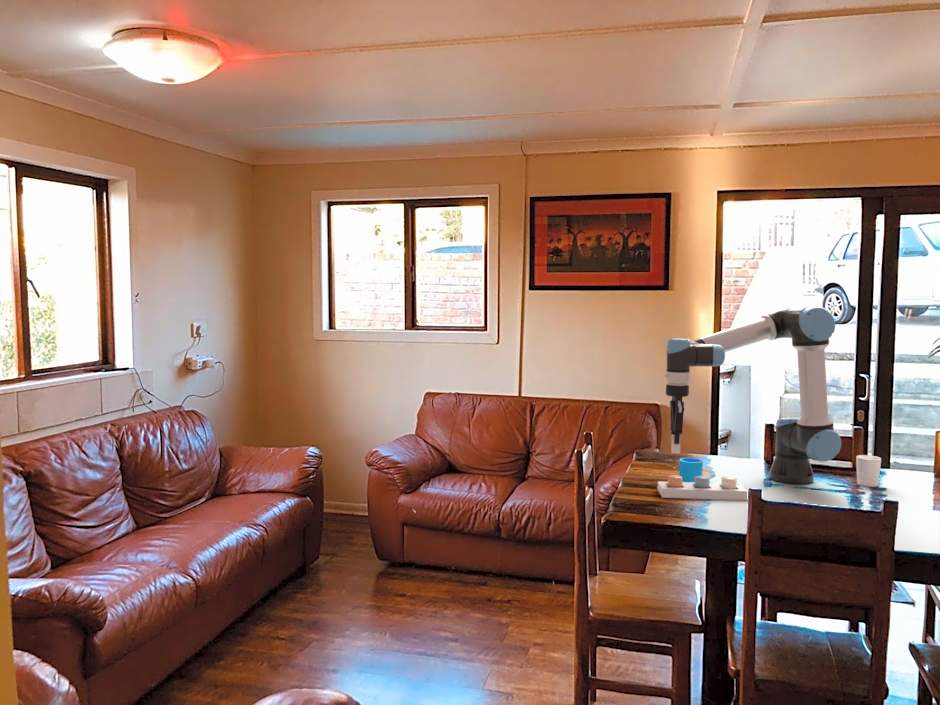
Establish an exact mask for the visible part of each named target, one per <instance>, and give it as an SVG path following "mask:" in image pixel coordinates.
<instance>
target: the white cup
mask: <svg viewBox="0 0 940 705" xmlns="http://www.w3.org/2000/svg"><path fill="white" fill-rule="evenodd" d="M855 461H856V484H857V485H859V486H862V487H872V488H873V487H874V488H876V487H878V486H879V481H880V480H879V479H880V474H881V473H880V472H881V467H882V466H881V464H882V457H880V456H876V455H870V454H869V455H868V454H859V455H856V459H855Z"/></svg>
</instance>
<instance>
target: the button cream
mask: <svg viewBox="0 0 940 705" xmlns="http://www.w3.org/2000/svg"><path fill="white" fill-rule="evenodd" d="M721 483H722V484H721V488H722V489H736V484H738V482H737V478H736V477H734V476H733V477H732V476H722V477H721Z"/></svg>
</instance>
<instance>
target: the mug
mask: <svg viewBox="0 0 940 705" xmlns="http://www.w3.org/2000/svg"><path fill="white" fill-rule="evenodd" d="M678 461H679V462H678V476H681V477H682V482H695V476H703V466H704V465H703V463H704V461H703V460H702V459H700V458H696V457H695V458H694V457H681V458H679V460H678Z"/></svg>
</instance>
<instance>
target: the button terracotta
mask: <svg viewBox="0 0 940 705" xmlns="http://www.w3.org/2000/svg"><path fill="white" fill-rule="evenodd" d="M667 482H668V487H676V488H682V477H681V476H679V474H678V475H677V474H672V475H668V476H667Z"/></svg>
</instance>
